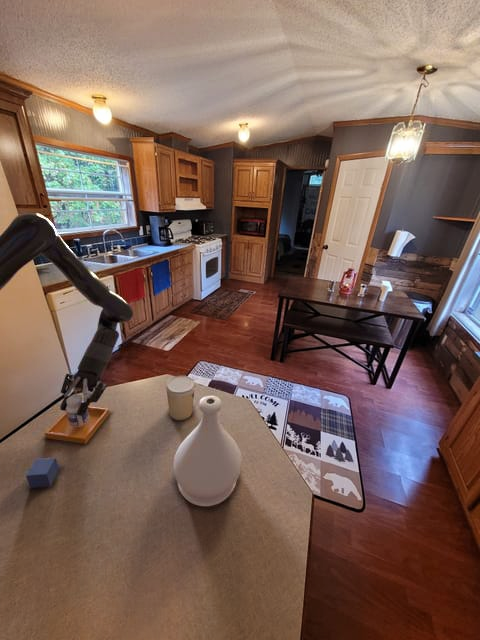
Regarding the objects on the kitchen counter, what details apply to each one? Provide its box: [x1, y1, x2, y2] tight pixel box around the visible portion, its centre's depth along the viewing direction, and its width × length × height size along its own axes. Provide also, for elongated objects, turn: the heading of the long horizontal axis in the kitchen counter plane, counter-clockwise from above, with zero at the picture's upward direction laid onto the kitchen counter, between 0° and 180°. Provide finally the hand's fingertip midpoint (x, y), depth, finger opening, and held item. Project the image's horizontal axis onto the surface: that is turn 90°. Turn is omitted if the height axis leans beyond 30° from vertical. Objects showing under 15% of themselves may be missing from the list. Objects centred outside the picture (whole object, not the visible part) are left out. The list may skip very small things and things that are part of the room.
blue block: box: [25, 457, 60, 489], centre depth 63 cm, size 4×4×4 cm
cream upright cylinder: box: [165, 375, 196, 421], centre depth 85 cm, size 9×9×12 cm
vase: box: [173, 395, 243, 507], centre depth 62 cm, size 17×17×25 cm
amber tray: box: [44, 405, 111, 445], centre depth 79 cm, size 12×12×2 cm
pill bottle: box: [65, 394, 89, 427], centre depth 77 cm, size 5×5×9 cm
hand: (71, 412), depth 75 cm, fingers closed on pill bottle, 5 cm apart
